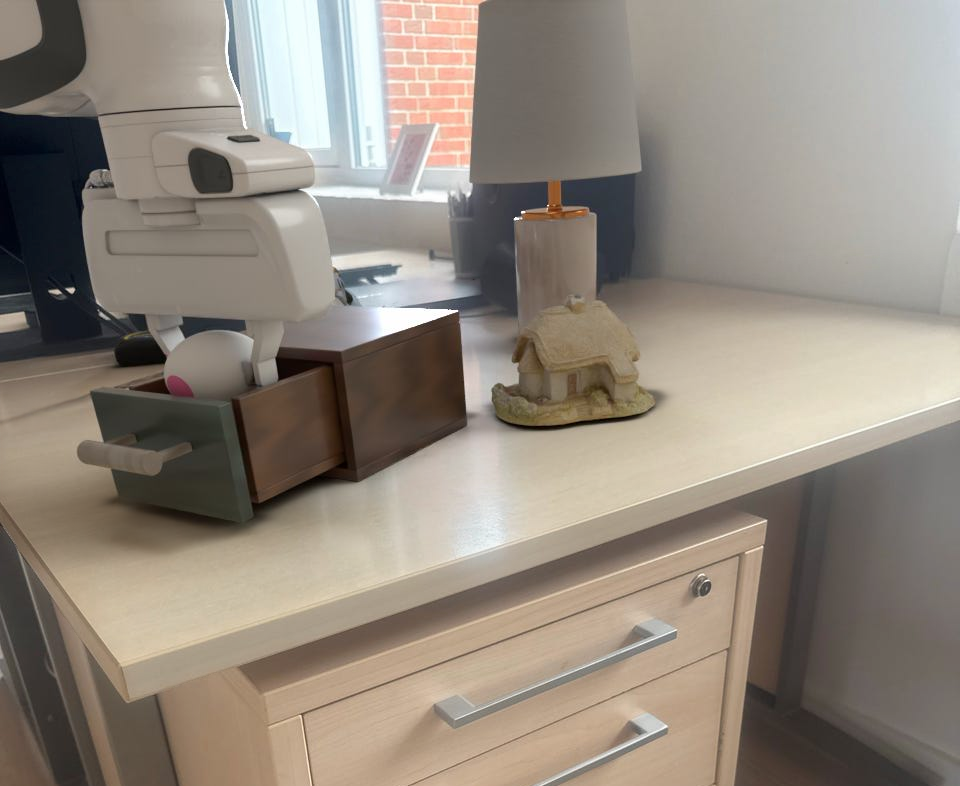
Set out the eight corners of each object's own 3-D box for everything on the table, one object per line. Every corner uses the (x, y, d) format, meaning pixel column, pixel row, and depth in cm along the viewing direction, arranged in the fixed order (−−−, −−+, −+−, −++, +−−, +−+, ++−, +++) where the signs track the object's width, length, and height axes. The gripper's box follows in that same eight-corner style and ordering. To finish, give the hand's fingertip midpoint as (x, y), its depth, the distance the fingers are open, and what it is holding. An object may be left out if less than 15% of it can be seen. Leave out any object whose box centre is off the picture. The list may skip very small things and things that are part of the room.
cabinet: (358, 481, 70) (340, 351, 65) (229, 461, 76) (204, 341, 71) (467, 425, 81) (459, 310, 76) (347, 411, 88) (332, 305, 83)
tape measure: (117, 375, 109) (109, 343, 107) (129, 362, 115) (121, 332, 113) (175, 369, 109) (168, 337, 107) (184, 357, 115) (177, 327, 113)
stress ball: (269, 440, 71) (242, 360, 71) (297, 397, 64) (266, 308, 64) (173, 457, 67) (144, 373, 67) (190, 414, 60) (158, 320, 60)
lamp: (639, 324, 115) (647, 0, 99) (635, 358, 99) (643, -23, 82) (493, 329, 119) (476, 16, 102) (466, 363, 103) (441, -2, 86)
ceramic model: (604, 386, 90) (604, 278, 85) (674, 410, 81) (680, 291, 76) (478, 411, 85) (470, 299, 80) (538, 440, 76) (534, 315, 71)
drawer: (193, 547, 58) (165, 425, 54) (68, 518, 64) (34, 406, 60) (373, 457, 72) (360, 355, 68) (256, 441, 78) (238, 346, 74)
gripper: (39, 173, 61) (94, 380, 68) (262, 160, 51) (301, 404, 58) (115, 167, 66) (159, 361, 72) (333, 154, 56) (361, 380, 63)
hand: (224, 381), depth 65 cm, fingers closed on stress ball, 6 cm apart
